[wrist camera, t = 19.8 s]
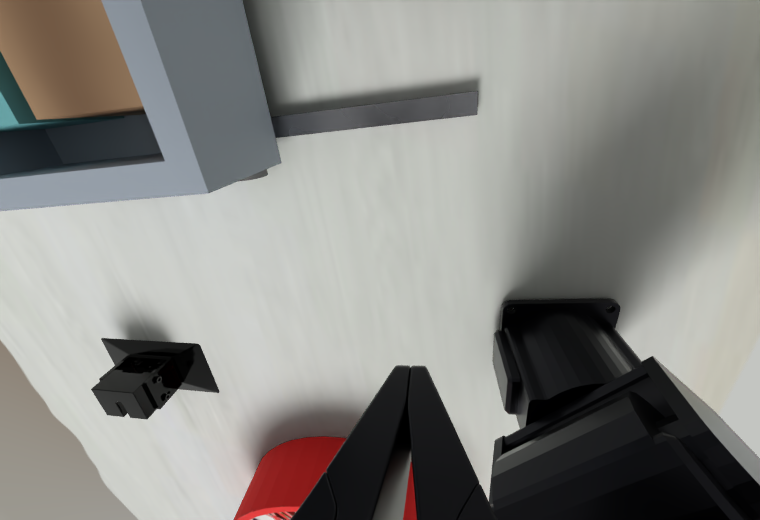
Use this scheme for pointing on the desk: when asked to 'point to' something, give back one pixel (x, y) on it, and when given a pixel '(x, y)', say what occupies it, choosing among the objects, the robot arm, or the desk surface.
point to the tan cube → (66, 59)
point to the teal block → (28, 108)
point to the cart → (156, 116)
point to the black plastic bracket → (150, 375)
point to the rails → (377, 114)
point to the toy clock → (296, 479)
